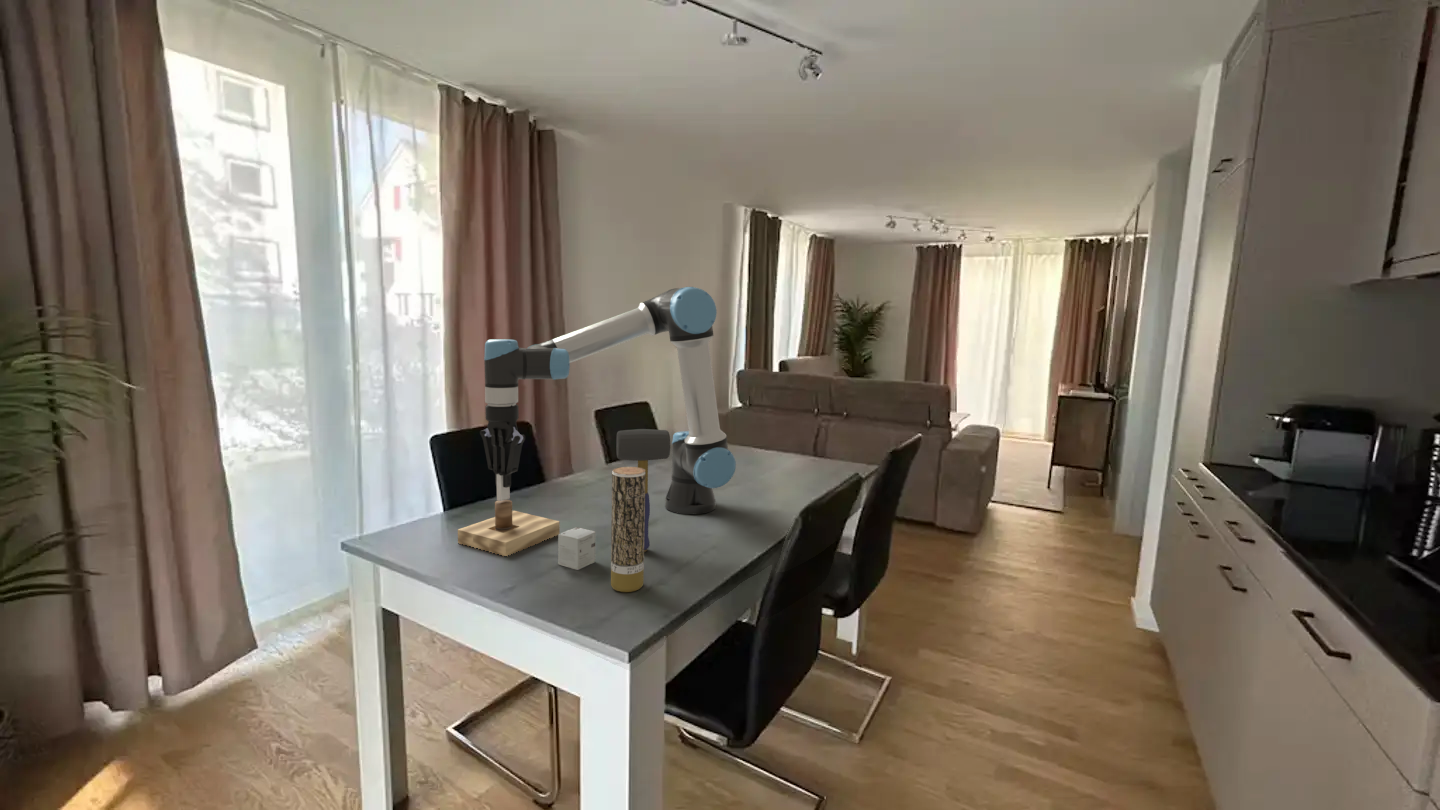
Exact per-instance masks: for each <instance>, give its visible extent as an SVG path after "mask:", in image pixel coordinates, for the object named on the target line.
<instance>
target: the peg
mask: <svg viewBox="0 0 1440 810" xmlns="http://www.w3.org/2000/svg"><path fill="white" fill-rule="evenodd" d="M512 511H513V501H512V500H510V499H507V500H504V501H498V500H496V501H494V517H495V531H498V532H502V533H504V532H507V531H510V530H512Z"/></svg>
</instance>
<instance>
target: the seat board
mask: <svg viewBox="0 0 1440 810" xmlns="http://www.w3.org/2000/svg"><path fill="white" fill-rule="evenodd" d="M560 526H561V525H560V520H556V519H552V518H547V517H543V516H539V515H533V514H529V513H527V512H522V511H518V510H512V530H510V531H507V532H504V533H502V532H498V531H495V516H494V517H491V518H487V519H485V520H482V521H479V522H476V523H472V524H469V525H468V526H464V527H461V528H458V529H457V544H458V543H459V544H460V545H462V544H463V545H462V546H465V545H467V546H466V547H469V546H471V547H470V548H472V547H474V548H473V549H476V548H478V549H477V550H479V549H481V550H480V551H483V550H485V551H484V552H486V551H489V552H488V553H490V552H492V553H491V554H493V553H495V554H494V555H497V554H499V555H498V556H500V555H502V556H501V557H504V556H507V557H509V556H512V555H514V554H517V553H519V552H521V551H523V549H524V550H526V549H528V547H529V548H531V547H532V546H533V547H534V546H536V545H537V544H540V543H542V541H543V542H544V540H545V541H547V539H548V540H550V539H552V538H554V536H555V537H558V534H560V533H561V532H560V529H561V527H560ZM549 538H550V539H549ZM459 544H458V545H459ZM535 544H536V545H535ZM530 546H531V547H530ZM518 551H519V552H518ZM516 552H517V553H516ZM513 553H514V554H513ZM511 554H512V555H511ZM508 555H509V556H508Z"/></svg>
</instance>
